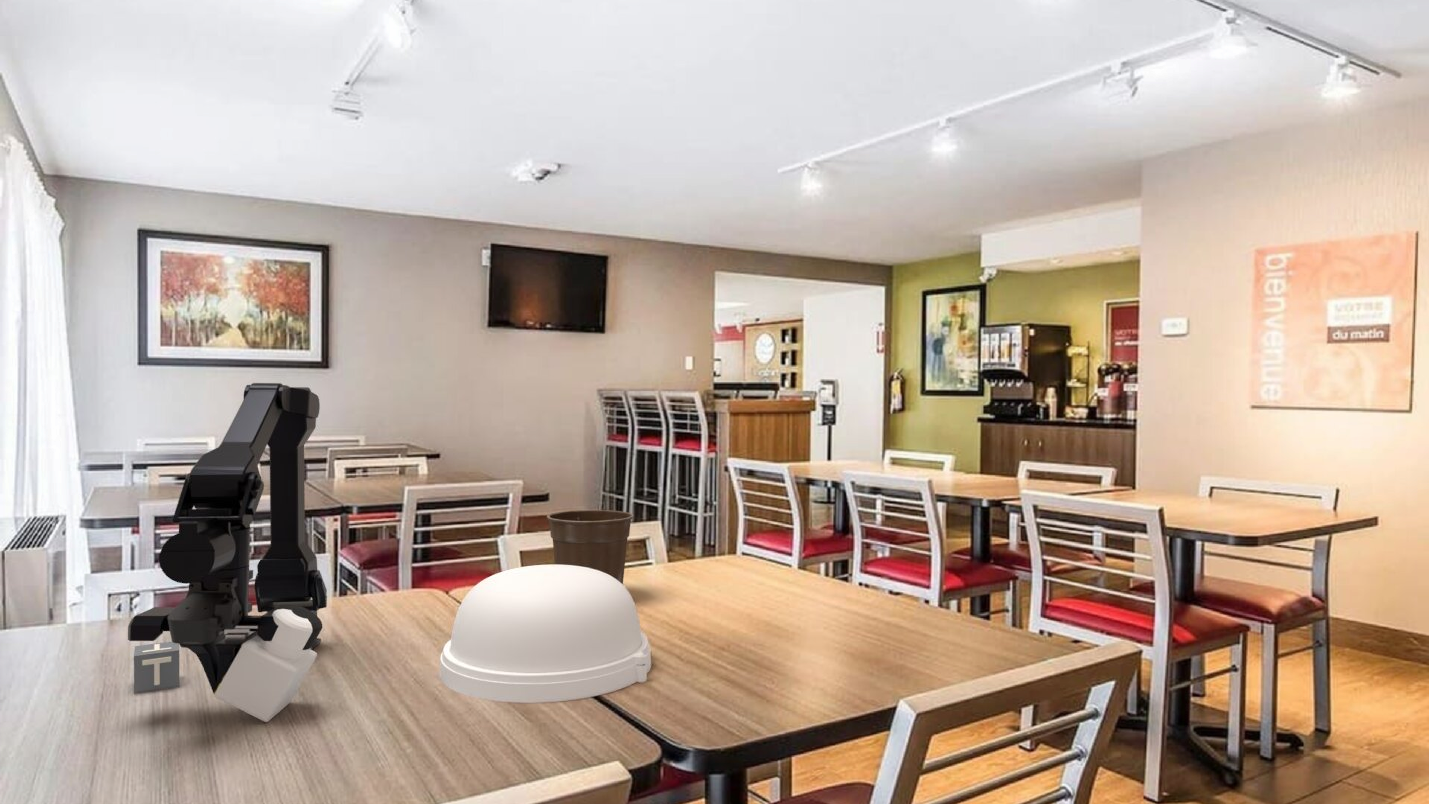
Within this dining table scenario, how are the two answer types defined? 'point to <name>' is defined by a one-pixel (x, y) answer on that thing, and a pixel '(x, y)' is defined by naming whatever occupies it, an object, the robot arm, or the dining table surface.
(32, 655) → the dining table surface
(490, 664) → the dome cover
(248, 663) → the medicine bottle
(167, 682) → the lettered cube
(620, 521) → the plant pot
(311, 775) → the dining table surface
